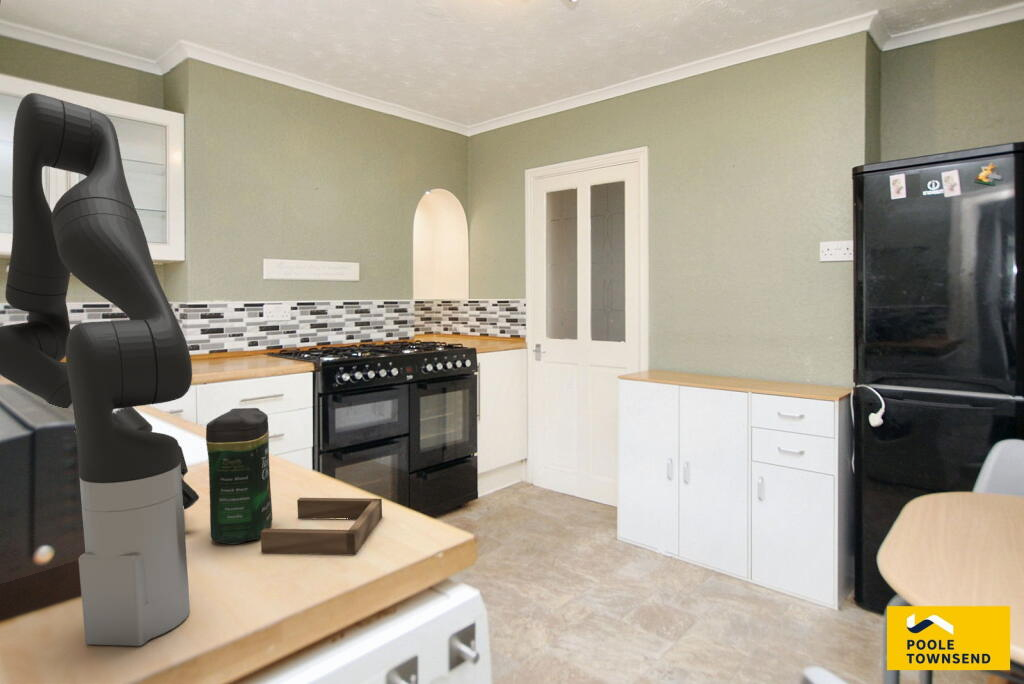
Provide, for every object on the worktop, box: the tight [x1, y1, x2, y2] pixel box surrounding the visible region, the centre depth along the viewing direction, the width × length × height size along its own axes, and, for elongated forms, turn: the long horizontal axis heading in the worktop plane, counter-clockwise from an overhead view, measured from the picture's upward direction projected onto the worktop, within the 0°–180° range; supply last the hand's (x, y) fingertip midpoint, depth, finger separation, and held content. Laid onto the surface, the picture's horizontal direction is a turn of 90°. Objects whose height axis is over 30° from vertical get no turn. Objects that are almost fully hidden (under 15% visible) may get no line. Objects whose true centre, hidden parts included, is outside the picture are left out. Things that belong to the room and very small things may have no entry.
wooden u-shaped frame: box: [260, 497, 383, 555], centre depth 89 cm, size 13×13×3 cm
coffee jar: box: [205, 407, 273, 545], centre depth 90 cm, size 10×8×19 cm
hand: (192, 503), depth 90 cm, fingers closed
